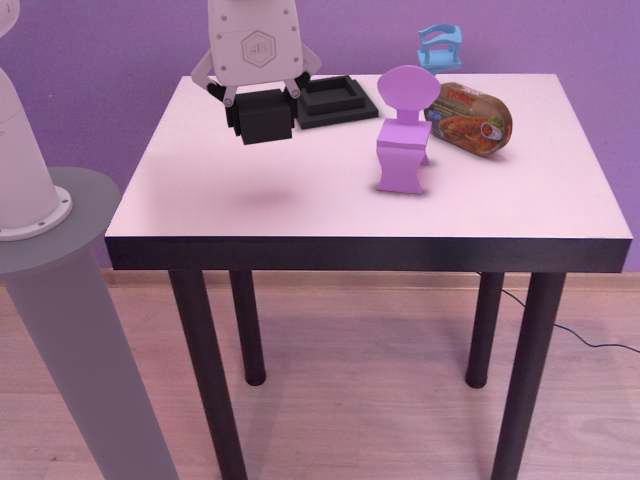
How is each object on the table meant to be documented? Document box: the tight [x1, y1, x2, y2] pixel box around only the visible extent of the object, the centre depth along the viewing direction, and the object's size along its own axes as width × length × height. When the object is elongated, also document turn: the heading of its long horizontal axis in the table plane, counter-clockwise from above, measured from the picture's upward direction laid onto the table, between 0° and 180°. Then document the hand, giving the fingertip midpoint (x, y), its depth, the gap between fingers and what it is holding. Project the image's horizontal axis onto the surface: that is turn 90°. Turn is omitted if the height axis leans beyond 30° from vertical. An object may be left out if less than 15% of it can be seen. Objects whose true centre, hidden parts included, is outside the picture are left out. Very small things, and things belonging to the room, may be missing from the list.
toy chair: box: [375, 64, 441, 195], centre depth 82 cm, size 8×9×15 cm
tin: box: [422, 81, 514, 157], centre depth 91 cm, size 15×3×8 cm, turn 42°
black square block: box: [235, 87, 293, 146], centre depth 77 cm, size 6×6×4 cm
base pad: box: [295, 74, 380, 130], centre depth 104 cm, size 13×13×3 cm
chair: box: [416, 23, 463, 85], centre depth 103 cm, size 8×8×12 cm
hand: (263, 126), depth 78 cm, fingers closed on black square block, 6 cm apart
